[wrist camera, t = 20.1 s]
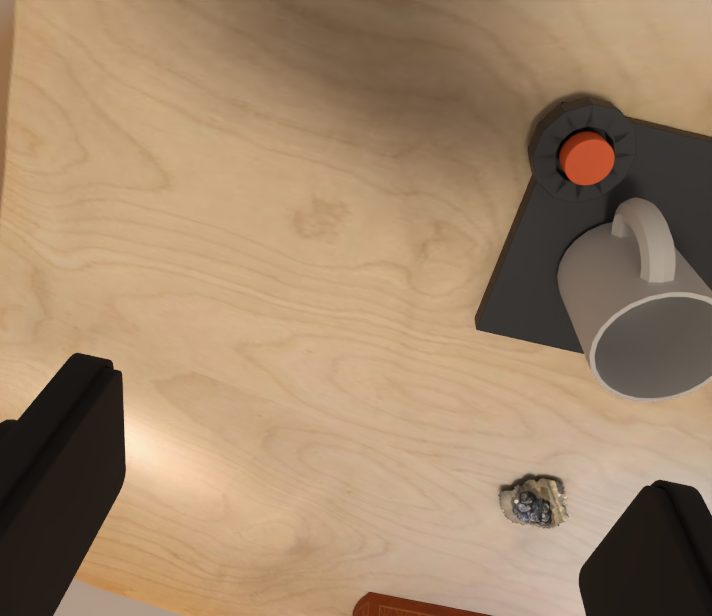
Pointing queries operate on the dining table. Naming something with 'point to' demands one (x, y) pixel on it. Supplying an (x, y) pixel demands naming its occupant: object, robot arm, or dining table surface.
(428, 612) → the book
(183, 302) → the dining table surface
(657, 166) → the scale
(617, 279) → the cup
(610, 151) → the button
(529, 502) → the mineral rock
